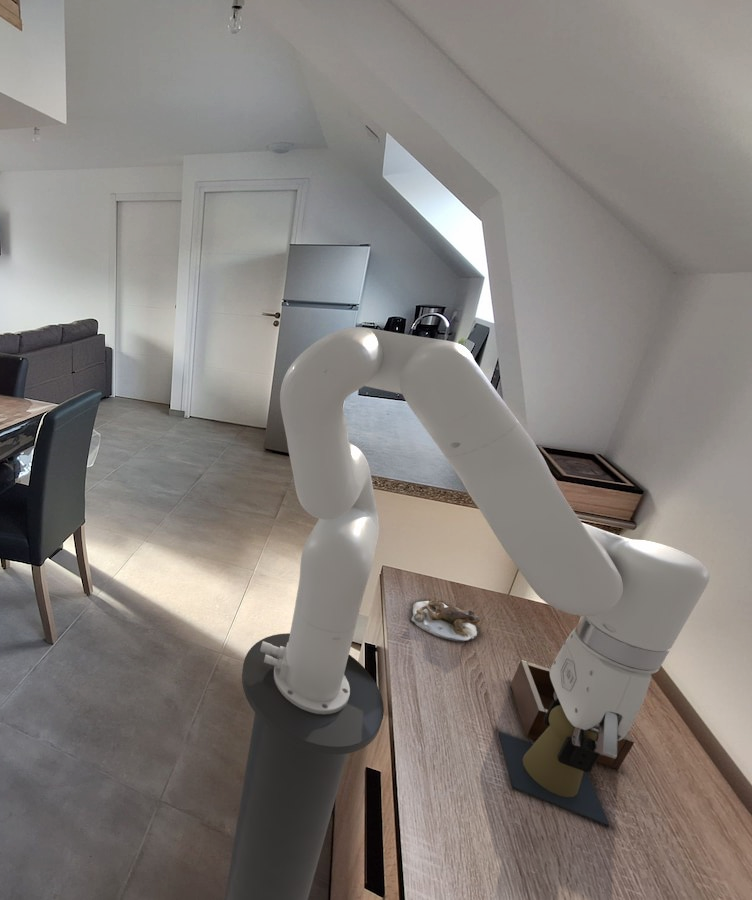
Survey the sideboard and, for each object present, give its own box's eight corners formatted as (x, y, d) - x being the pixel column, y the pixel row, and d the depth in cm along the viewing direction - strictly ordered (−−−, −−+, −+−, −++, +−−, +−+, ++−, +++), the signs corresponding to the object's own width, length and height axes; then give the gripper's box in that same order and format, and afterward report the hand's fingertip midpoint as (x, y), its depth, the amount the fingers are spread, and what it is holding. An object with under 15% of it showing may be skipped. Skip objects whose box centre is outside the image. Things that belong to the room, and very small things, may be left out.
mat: (512, 788, 61) (513, 786, 61) (498, 732, 69) (499, 731, 68) (608, 826, 57) (609, 825, 57) (582, 763, 65) (583, 761, 64)
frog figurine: (476, 615, 93) (482, 600, 92) (478, 652, 84) (484, 636, 82) (414, 594, 99) (418, 579, 97) (409, 626, 89) (414, 610, 88)
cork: (587, 804, 59) (622, 746, 55) (532, 786, 61) (562, 729, 57) (566, 761, 64) (596, 705, 60) (515, 746, 66) (542, 690, 62)
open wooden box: (526, 736, 68) (538, 710, 66) (510, 684, 77) (520, 659, 75) (618, 769, 64) (634, 742, 62) (590, 710, 73) (603, 685, 71)
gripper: (557, 589, 63) (515, 686, 69) (608, 679, 48) (549, 792, 55) (628, 607, 60) (577, 707, 66) (705, 709, 45) (630, 824, 52)
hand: (565, 744), depth 61 cm, fingers closed on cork, 5 cm apart
